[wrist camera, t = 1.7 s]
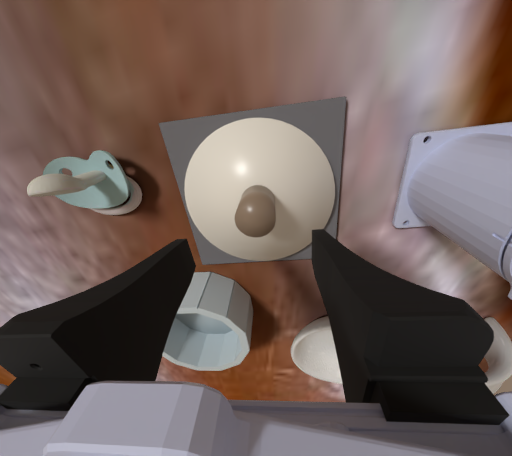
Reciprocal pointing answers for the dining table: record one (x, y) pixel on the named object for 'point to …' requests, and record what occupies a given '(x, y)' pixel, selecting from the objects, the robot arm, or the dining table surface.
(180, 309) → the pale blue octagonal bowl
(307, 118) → the mat
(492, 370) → the spoon rest
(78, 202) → the pacifier
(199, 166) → the lid
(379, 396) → the robot arm
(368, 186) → the dining table surface
